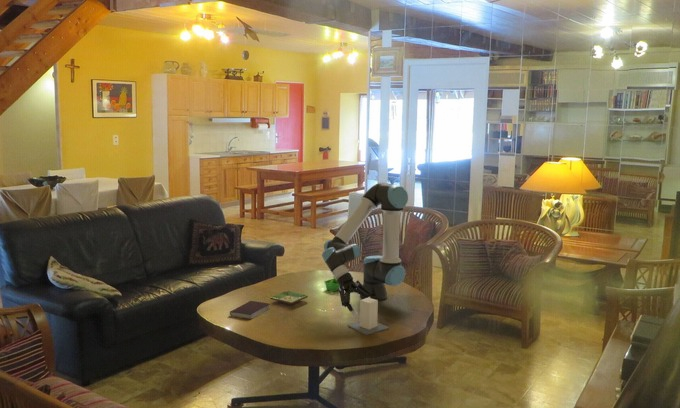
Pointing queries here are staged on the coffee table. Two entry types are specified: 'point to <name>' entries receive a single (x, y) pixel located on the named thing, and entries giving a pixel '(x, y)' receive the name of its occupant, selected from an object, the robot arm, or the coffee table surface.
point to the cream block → (368, 313)
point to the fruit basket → (332, 284)
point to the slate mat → (368, 331)
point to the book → (250, 309)
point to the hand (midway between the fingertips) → (365, 312)
